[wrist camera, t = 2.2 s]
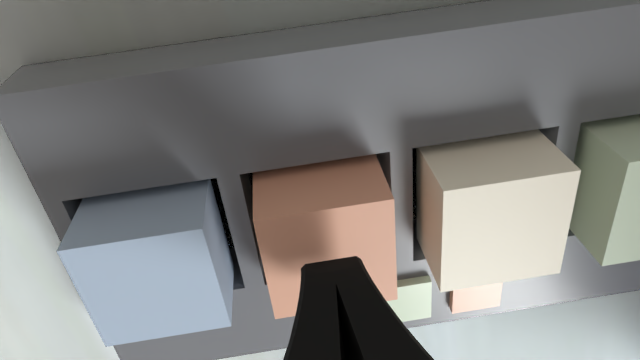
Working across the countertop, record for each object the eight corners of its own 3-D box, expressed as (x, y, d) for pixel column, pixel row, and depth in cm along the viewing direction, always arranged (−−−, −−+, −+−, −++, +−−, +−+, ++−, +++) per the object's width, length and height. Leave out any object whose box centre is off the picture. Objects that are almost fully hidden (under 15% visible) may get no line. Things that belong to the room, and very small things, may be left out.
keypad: (720, -33, 14) (797, -15, 12) (635, 247, 19) (678, 290, 17) (21, 66, 13) (-18, 101, 11) (138, 327, 19) (125, 381, 17)
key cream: (534, 126, 14) (581, 170, 12) (521, 221, 16) (559, 273, 14) (416, 143, 14) (443, 191, 12) (416, 237, 16) (440, 292, 14)
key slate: (209, 175, 14) (202, 228, 12) (233, 266, 16) (231, 326, 14) (85, 193, 14) (56, 251, 12) (124, 283, 16) (106, 346, 14)
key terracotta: (374, 150, 14) (394, 198, 12) (379, 243, 16) (397, 299, 14) (252, 168, 14) (253, 221, 12) (272, 260, 16) (274, 319, 14)
